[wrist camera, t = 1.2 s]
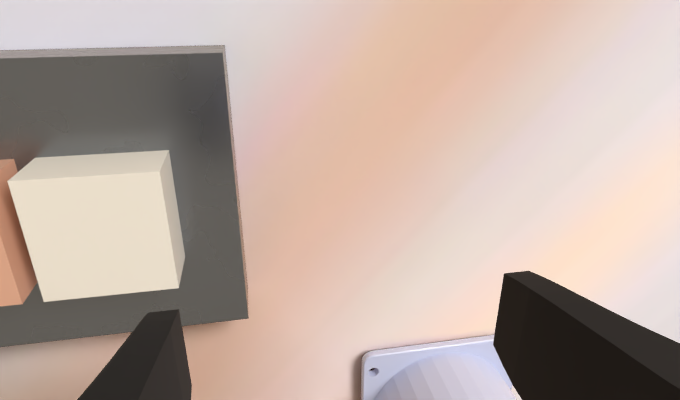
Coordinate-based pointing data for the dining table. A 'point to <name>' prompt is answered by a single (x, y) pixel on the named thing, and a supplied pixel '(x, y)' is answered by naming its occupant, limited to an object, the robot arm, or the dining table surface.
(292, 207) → the dining table surface
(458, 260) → the dining table surface
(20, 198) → the tile
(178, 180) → the slate plate
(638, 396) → the robot arm
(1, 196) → the tile
